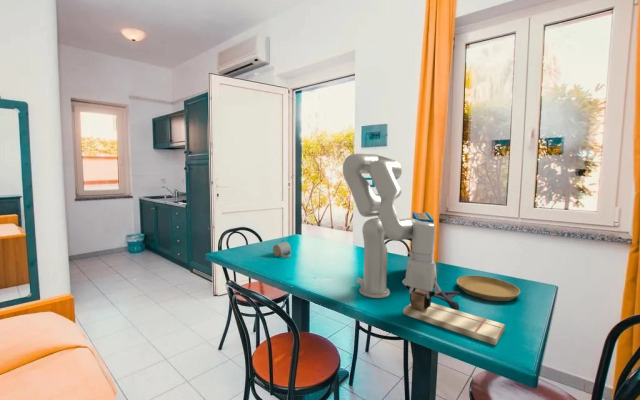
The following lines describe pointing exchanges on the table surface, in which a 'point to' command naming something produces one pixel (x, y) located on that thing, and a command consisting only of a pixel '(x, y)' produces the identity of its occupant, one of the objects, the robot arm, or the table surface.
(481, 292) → the plant saucer
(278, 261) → the table surface
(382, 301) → the table surface
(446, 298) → the bracket
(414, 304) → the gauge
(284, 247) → the ceramic mug
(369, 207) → the robot arm
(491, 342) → the board
